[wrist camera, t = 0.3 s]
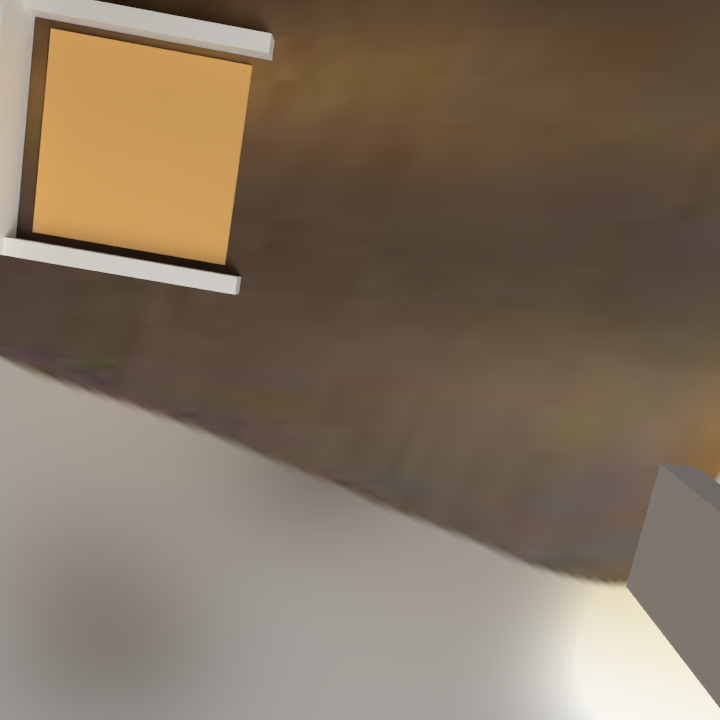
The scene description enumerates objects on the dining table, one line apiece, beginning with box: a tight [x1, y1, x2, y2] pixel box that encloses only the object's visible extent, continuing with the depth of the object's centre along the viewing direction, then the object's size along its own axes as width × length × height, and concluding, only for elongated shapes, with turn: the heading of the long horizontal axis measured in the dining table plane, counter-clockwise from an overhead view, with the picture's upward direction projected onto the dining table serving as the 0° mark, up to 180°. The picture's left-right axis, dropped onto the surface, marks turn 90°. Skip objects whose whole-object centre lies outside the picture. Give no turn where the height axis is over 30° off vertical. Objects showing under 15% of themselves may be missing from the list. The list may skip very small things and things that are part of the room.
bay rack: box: [0, 0, 275, 295], centre depth 32 cm, size 27×14×3 cm, turn 170°
